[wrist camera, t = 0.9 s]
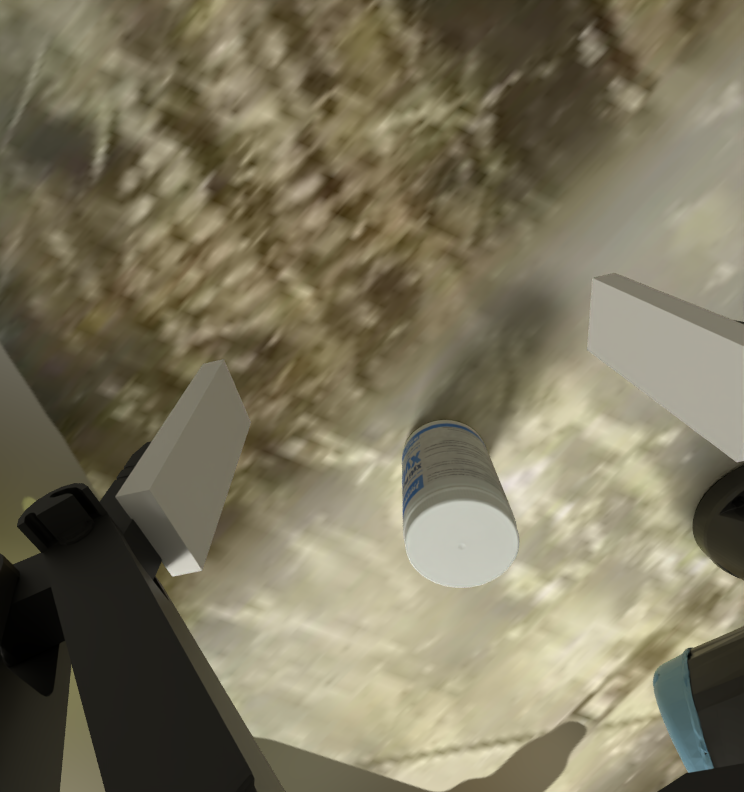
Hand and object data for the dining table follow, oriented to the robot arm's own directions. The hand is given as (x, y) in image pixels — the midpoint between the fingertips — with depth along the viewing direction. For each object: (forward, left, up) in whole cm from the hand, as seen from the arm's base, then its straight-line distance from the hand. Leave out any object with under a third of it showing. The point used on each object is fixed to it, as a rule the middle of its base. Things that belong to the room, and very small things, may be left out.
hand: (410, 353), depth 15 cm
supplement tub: (-20, 0, -27) cm, 34 cm away
